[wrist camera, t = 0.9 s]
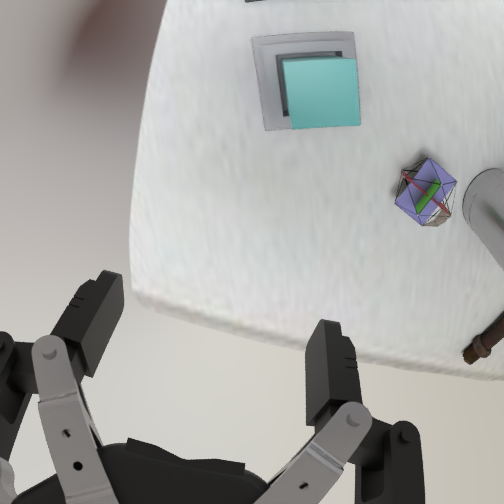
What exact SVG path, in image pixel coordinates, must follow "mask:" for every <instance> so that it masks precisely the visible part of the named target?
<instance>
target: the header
mask: <svg viewBox="0 0 504 504" xmlns="http://www.w3.org/2000/svg"><path fill="white" fill-rule="evenodd" d="M251 40H252V46H253V52H254V58H255V65H256V71H257V78H258V85H259V91H260V98H261V105H262V112H263V119H264V126H265V131H272V130H282V129H292V127H291V122H290V118H289V113H288V109H287V103H286V95H285V87H284V80H283V72H282V65H281V58H292V57H307V56H328V55H332V56H339V57H346V58H352V59H356V48H355V39H354V32H314V33H296V34H283V35H273V36H264V37H255V38H251ZM356 68H357V59H356ZM357 81H358V70H357ZM358 96H359V83H358ZM359 114H360V99H359ZM360 125H361V119H360Z"/></svg>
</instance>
